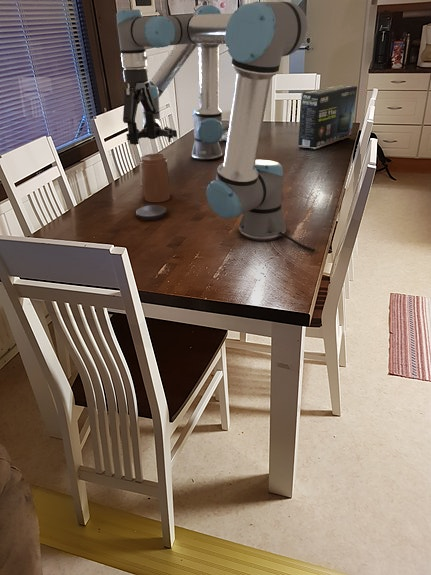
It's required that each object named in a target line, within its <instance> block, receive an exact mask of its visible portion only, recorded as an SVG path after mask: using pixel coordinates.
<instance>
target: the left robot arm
mask: <svg viewBox="0 0 431 575" xmlns="http://www.w3.org/2000/svg"><path fill="white" fill-rule="evenodd" d="M205 14H223V13H222V11H221V10H220V8H218V7H217V6H215V5H213V4H209V3H207V4H203V5H200V6H199V7H197V8H196V9H195V10H194V12H193V13H192V15H205ZM221 45H222V44H179V45H174V47H173V48H172V50H171V51H170V52H169V54H168V55H167V56H166V57H165V59H164V60H163V62H162V63H161V65H160V66H159V67H158V68H157V70H156V72H155V73H154V75H152V77H151V78H150V79H149V81H148V82H149V84H150V90H151V93H152V97H153V100H154V103H155V106H156V114H153V115H154V125H155V134H147V127H146V118H145V114H148V113H146V111H145V109H144V107H143V105H142V104H141V108H142V121H143V122H142V123H143V125H142V129H141V130H140V129H139V128H137V133H138V140H140V139H149V140H156V139H157V138H161V137H164V138H167V141H168V143H171V139H173V138H177V137H178V131H177V129H174V128H171V127H168V126H164V128H161V127H162V126H161V125H162V124H161V111H160V97H162V95H163V93H164V92H165V90H166V89H167V88H168V86H169V85H170V84H171V83H172V82H173V79H174V78H175V77H176V76H177V74H178V73H179V71H181V69H182V67H183V66H184V65H185V64H186V62H187V61H188V59H189V58H190V57H191V56H192V54H193V53H194V51H196V49H197V50H198V51H197V58H198V64H197V66H198V101H199V102H198V108H195V109H193V111H192V118H193V119H192V120H193V121H192V122H193V136H194V137H193V138H194V142H193V147H192V151H191V158H192V159H193V160H195V161H199V162H210V161H212V162H213V161H216V160H220V159H222V157H223V151H222V147H221V143H220V142H219V140H220V139H221V137H222V135H223V133H224V131H225V130H228V129H229V128H228V126H227V127H224V125H223V124H222V123H223V111H222V109H220V107H219V47H220V46H221ZM152 107H153V106H152ZM126 140H127V142H130V140H129V132H128V133H126ZM133 145H134V146H136V145H137V144H133Z"/></svg>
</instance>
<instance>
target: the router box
mask: <svg viewBox="0 0 431 575" xmlns="http://www.w3.org/2000/svg"><path fill="white" fill-rule="evenodd" d="M357 93H358V86H356V85H350V84H339V85H338V84H337V85H334V86H328V87H324V88H318V89H314V90H309V91H304V92H301V93H300V109H299V110H300V111H299V124H298V137H297V146H298V145H302V146H307V147H317V146H320V145H323V144H325V143H328V142H331V141H333V140H336V139H338V138H341V137H344V136H347V135H351V136H352V133H353V132H352V131H353V125H354V115H355V109H356V99H357ZM311 151H313V150H312V149H311Z"/></svg>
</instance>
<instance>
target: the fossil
mask: <svg viewBox="0 0 431 575" xmlns="http://www.w3.org/2000/svg"><path fill="white" fill-rule="evenodd" d="M227 137H228V130H227V131H225V132H223V135H222V137H221V139H220V140H219V141H220V142H227ZM219 141H218V142H219Z"/></svg>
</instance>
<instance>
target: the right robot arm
mask: <svg viewBox="0 0 431 575" xmlns="http://www.w3.org/2000/svg"><path fill="white" fill-rule="evenodd" d="M116 28H117V34H118V35H117V36H118V42H119V50H120V57H121V67H122V68H123V71H122V74H123V81H124V83H125V84H127V85H128V87H124V88H123V92H124V93H123V94H124V100H123V112H122V113H123V114H122V122H123V124H127V132H128V133H129V140H130V141H129V144H130V145H134V144H136V145H139V143H140V142H139V139H138V133H137V129H138V126H137V125H138V124H137V122H136V117H137V111H138V106H139V104H141V106H142V105H143V107H144V109H145V111H146V113H148V114H145V118H146V127H147V134H155V125H154V115H153V114H156V106H155V103H154V100H153V97H152V93H151V90H150V84H149V82H150V79H149V70H148V69H147V66H148V63H147V60H148V56H147V53H146V52H147V51H146V50H147V49H146V48H157V49H160V48H167V47H170V46H175V45H179V44H221V45H225V46H226V47H227V52H228V54H229V56H230V57H231V66H232V68H233V69H234V70H235V72H236V74H235V82H234V88H233V97H232V102H231V109H230V116H229V123H228V125H229V128H228V129H227V131H228V137H227V141H226V145H225V152H224V160H223V162H222V163H221V164H219V165H218V166H217V170H216V177H215V179H214V180H212V181H210V182H209V184H208V185H207V187H206V191H205V195H206V200H207V203H208V206H209V207H210V208H211V210H212V211H213V213H215V215H217V217H219V218H221V219H225V220H230V219H234V218H238V217H240V216H241V215H242V216H241V218H240V219H241V220H240V221H239V226H238V232H239V235H240V236H241V237H242V238H244V239H247V240H250V241H254V242H271V241H277V240H279V239H281V238H283V237H284V238H286V239H288V240H289V241H291V242H292V243H293V244H296V245H297V246H299V247H300V248H304V249H305V250H309V251H311V252H315V251H316V249H315V248H313V247H310V246H308V245H305V244H303V243H300V242H298V241H297V240H296V239H294V238H292V237H291V236H289V235H287V223H286V221H285V216H284V214H283V210H282V200H283V182H284V180H283V179H284V169H283V165H282V164H281V163H280V162H278V161H274V160H270V159H257V157H258V156H257V155H258V150H259V146H260V139H261V135H262V134H261V133H262V128H263V123H264V118H265V114H266V108H267V103H268V102H267V101H268V97H269V91H270V86H271V80H272V77H274V76H275V75H277V74H278V73H279V71H280V66H281V62H282V58H283V57H286V56H290V55H292V54H294V53H296V52H297V51H298V50H299V49H300V48H301V47H302V46H303V44H304V43H305V40H306V38H307V35H308V28H309V27H308V20H307V15H306V14H305V12H304V11H303V9H302V8H301V7H300V6H298V5H297V4H295V3H293V2H290V1H253V2H251V3H244V4H242V5H241V6H239V7H238V8H237V9H236V10H234V11H233V12H232V13H222V14H205V15H193V14H181V15H155V16H143V13H142V10H140V9H119V10H118V11H117V12H116ZM152 106H153V107H152Z"/></svg>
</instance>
